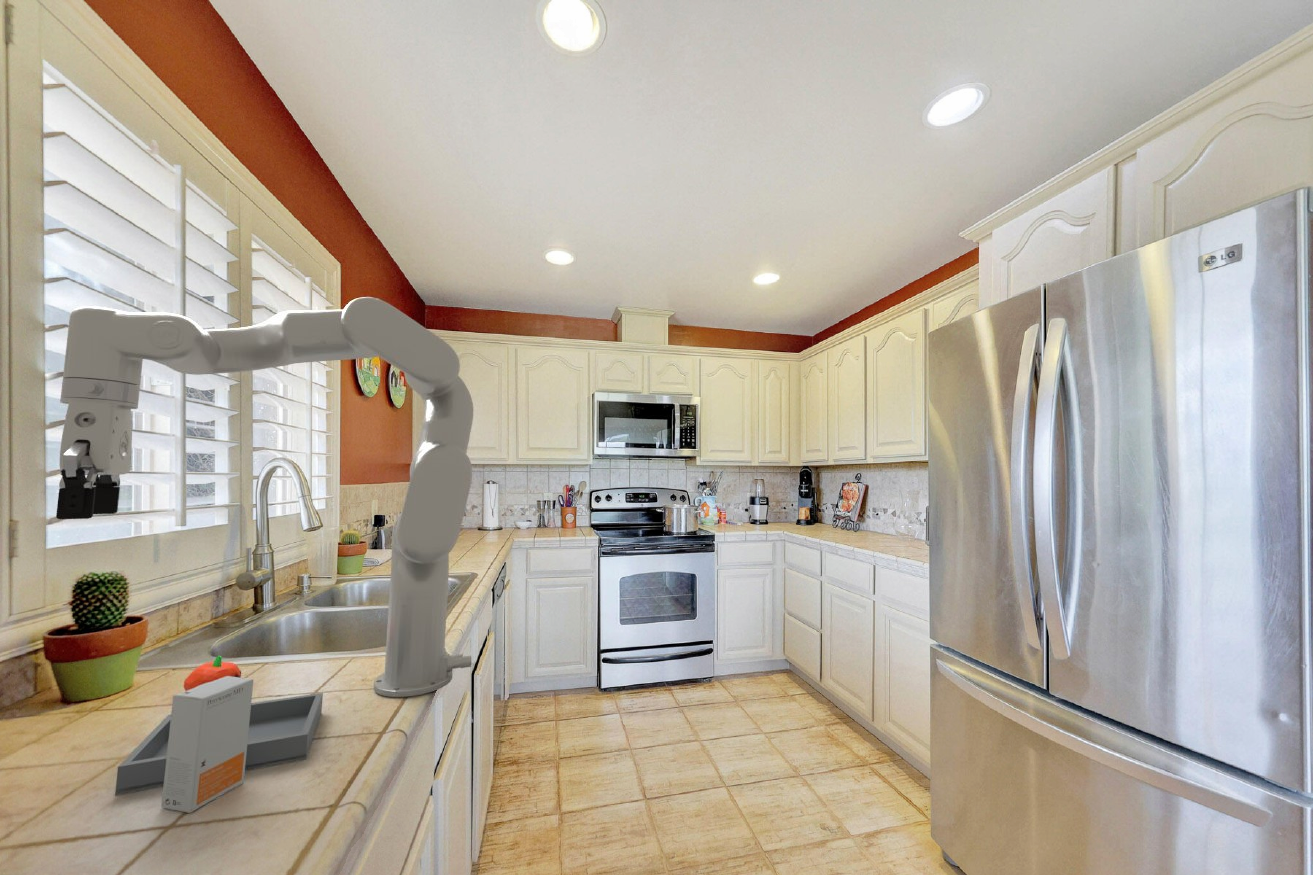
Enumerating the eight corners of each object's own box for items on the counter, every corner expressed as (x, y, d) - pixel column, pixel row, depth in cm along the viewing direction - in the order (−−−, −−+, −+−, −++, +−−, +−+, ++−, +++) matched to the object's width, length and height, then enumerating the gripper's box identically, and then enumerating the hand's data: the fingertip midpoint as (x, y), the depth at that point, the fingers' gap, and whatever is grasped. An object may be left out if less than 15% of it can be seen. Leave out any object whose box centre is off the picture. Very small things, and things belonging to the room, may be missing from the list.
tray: (321, 713, 78) (322, 692, 78) (306, 759, 65) (307, 734, 66) (166, 738, 70) (168, 714, 70) (114, 795, 57) (117, 766, 58)
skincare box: (190, 814, 54) (201, 699, 55) (159, 809, 55) (170, 695, 56) (246, 782, 60) (255, 677, 61) (217, 777, 61) (226, 674, 62)
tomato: (228, 686, 89) (237, 647, 90) (244, 698, 84) (254, 657, 85) (174, 694, 83) (184, 652, 84) (188, 707, 78) (199, 663, 80)
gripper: (118, 390, 68) (104, 520, 66) (154, 404, 82) (143, 511, 81) (33, 383, 63) (17, 522, 62) (86, 400, 78) (74, 512, 76)
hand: (88, 516), depth 71 cm, fingers open, 9 cm apart
